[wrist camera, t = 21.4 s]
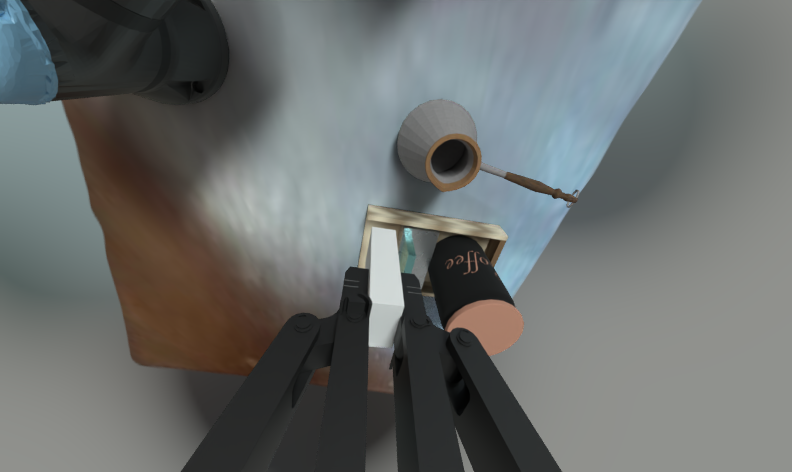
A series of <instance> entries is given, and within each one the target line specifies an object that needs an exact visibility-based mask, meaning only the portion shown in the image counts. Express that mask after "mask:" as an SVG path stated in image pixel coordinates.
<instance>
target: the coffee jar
mask: <svg viewBox="0 0 792 472" xmlns="http://www.w3.org/2000/svg"><path fill="white" fill-rule="evenodd" d="M428 273H429V277H430V281H431V285H432V289H433V293H434V297H435V301H436V304H437V308H438V312H439V316H440V320H441V324H442V327H443V329H444V330H445V331H448V332H451V331H452V330H453V329H454V328H457V327H459V328H465V329H468V330H469V331H471V332H472V333H474V335H475V336H476V337H477V338H478V340H479V341H480V343H481V344H482V346H483V348H484V349H485V351H486V352H487V354H488V356H491V355H494V354H497V353H500V352H502V351H504V350H506V349H507V348H509V347H510V346H512V345H513V344H514V343H515V342H516V341H517V340H518V338H519V337H520V335H521V334H522V332H523V327H524V322H523V318H522V315H521V314H520V312H519V311H518V310H517V309H516V308H515V305H514V302H513V300H512V298H511V296H510V295H509V293H508V291H507V289H506V288H505V286H504V284H503V283H502V281H501V279H500V278H499V276H498V274H497V273H496V271H495V269H494V267H493V266H492V264H491V262H490V261H489V259H488V257H487V256H486V254H485V252H484V251H483V249H482V247H481V246H480V245H479V244H478V243H477V241H475V240H473V239H471V238H469V237H467V236H461V235H456V236H449V237H446V238H444V239H442V240H440V241H439V242H438V243H436V246H435V249H434V252H433V255H432V258H431V261H430V264H429V268H428Z"/></svg>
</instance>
